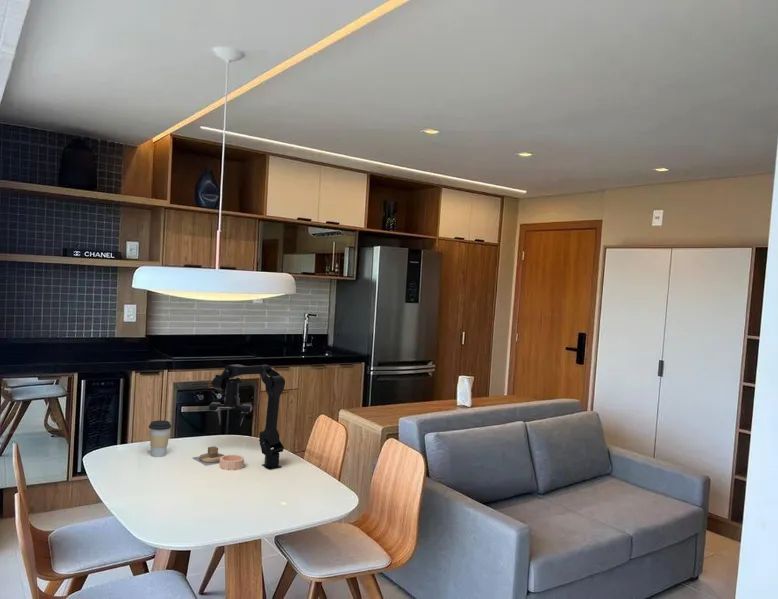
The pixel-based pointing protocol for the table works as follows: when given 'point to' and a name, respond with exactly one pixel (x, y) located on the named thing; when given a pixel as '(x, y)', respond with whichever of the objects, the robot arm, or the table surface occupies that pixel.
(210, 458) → the lid
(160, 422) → the coffee cup
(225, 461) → the bowl
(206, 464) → the mat
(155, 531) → the table surface
